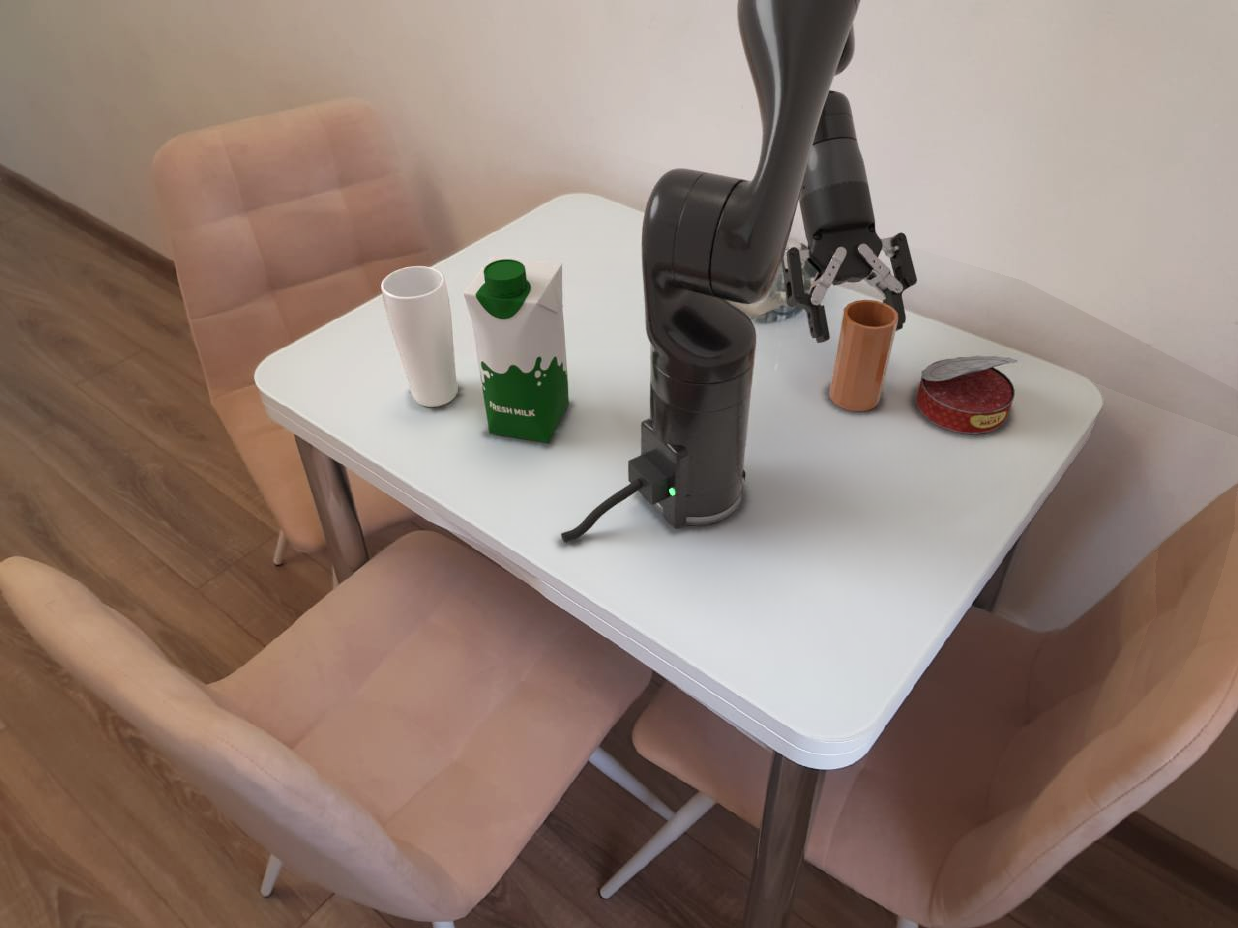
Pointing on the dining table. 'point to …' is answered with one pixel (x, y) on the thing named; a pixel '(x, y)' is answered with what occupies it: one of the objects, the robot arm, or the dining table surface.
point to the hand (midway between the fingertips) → (860, 335)
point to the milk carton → (520, 345)
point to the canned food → (966, 394)
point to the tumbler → (862, 354)
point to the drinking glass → (422, 332)
